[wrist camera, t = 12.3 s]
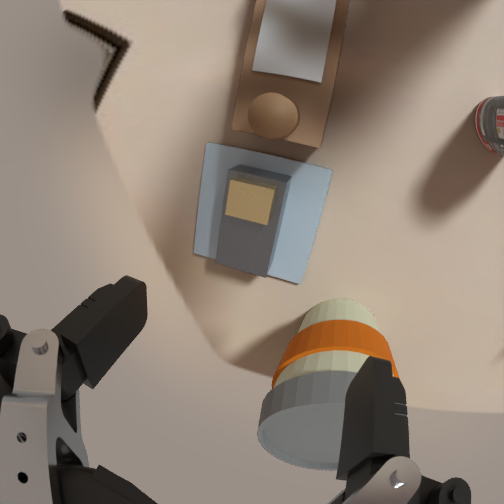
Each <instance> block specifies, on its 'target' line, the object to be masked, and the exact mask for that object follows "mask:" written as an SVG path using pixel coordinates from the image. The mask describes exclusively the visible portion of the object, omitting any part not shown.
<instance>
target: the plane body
mask: <svg viewBox="0 0 504 504" xmlns="http://www.w3.org/2000/svg"><path fill="white" fill-rule="evenodd" d="M348 7H349V0H256V4H255V8H254V13H253V17H252V22H251V26H250V31H249V36H248V41H247V46H246V51H245V55H244V61H243V66H242V71H241V76H240V81H239V87H238V92H237V97H236V103H235V109H234V114H233V120H232V126H231V130H237V131H242V132H248V133H253V134H258V135H260V136H262V137H264V138H269V139H275V138H278V139H282V140H287V141H291V142H296V143H300V144H304V145H308V146H312V147H316V148H320V147H321V145H322V140H323V136H324V131H325V127H326V122H327V118H328V113H329V108H330V104H331V99H332V94H333V89H334V84H335V79H336V74H337V69H338V64H339V58H340V53H341V48H342V42H343V37H344V31H345V25H346V19H347V13H348Z"/></svg>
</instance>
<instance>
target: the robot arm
mask: <svg viewBox="0 0 504 504" xmlns="http://www.w3.org/2000/svg"><path fill="white" fill-rule="evenodd" d="M146 295H147V293H146V284H145V283H144V282H142V281H140V280H137V279H135V278H132V277H130V276H124V277H122V278H121V279H120V280H119V281H118V282H117V283H115V284H114V285H113V284H108V285H106V286H104V287H101V288H99V289H97V290H96V291H95V292H94V293H92V294H91V295H90V296H89V297H88V299H85V300H84V301H83V302H82V303H81V305H79V306H77V308H75V309H74V310H73V311H72V312H71V313H70V314H69V315H67V316H66V317H65V318H64V319H63V320H62V321H61V322H60V323H59V324H57V325H56V326H55V327H54V328H53V329H52V330H48V329H36V330H33V331H31V332H30V333H28V334H26V333H23V332H20V331H17V330H13V329H11V327H10V325H9V322H8V320H7V318H6V317H5V316H3V315H0V504H157V503H156V502H155V501H153V500H152V499H151V498H149V497H148V496H147V495H146V494H144V493H143V492H142V491H141V490H139V489H138V488H137V487H136V486H135V485H133V484H132V483H130V482H129V481H127V480H125V479H123V478H121V477H120V476H117V475H116V474H114V473H113V472H111V471H109V470H107V469H106V468H104V467H102V466H101V465H99V466H98V467H97V469H94V468H90V467H89V463H88V456H87V452H86V449H85V446H84V443H83V440H82V435H81V421H80V398H79V387H80V386H81V385H82V384H83V383H84V384H85V385H87V386H88V387H90V388H92V389H94V387H95V386H96V385H97V384H98V382H99V381H100V380H101V378H102V377H103V376H104V375H105V374H106V373H107V371H108V370H109V369H110V368H111V366H112V365H113V364H114V363H115V362H116V360H117V359H118V358H119V357H120V355H121V354H122V353H123V352H124V351H125V349H126V348H127V347H128V346H129V345H130V343H131V342H132V341H133V340H134V339H135V337H136V336H137V335H138V334H139V333H140V332H141V330H142V329H143V327H144V325H145V323H146V320H147V296H146ZM406 404H407V403H406V393H405V389H404V387H403V385H402V383H401V381H400V379H399V378H396V377H393V374H392V364H391V361H389V360H386V359H381V358H377V357H373V356H369V357H368V358H367V359H366V360H365V362H364V363H363V365H362V367H361V368H360V370H359V371H358V372H357V374H356V375H355V377H354V378H353V380H352V381H351V383H350V385H349V387H348V390H347V393H346V397H345V408H344V420H343V430H342V439H341V447H340V455H339V463H338V470H337V476H336V479H339V480H346V481H347V483H346V488H345V489H344V490H343V491H341V492H340V493H339V494H338V495H337V496H336V497H335V498H334V499H332V501H330V502H329V503H328V504H471V491H470V487H469V486H468V484H467V482H466V481H464V480H463V479H461V478H451V479H449V480H448V481H446V482H444V483H440V482H438V481H435V480H432V479H429V478H427V477H424V476H422V475H421V472H420V469H419V467H418V466H417V464H416V463H415V462H414V461H413V460H411V459H410V454H409V430H408V417H407V406H406Z"/></svg>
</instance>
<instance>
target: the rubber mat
mask: <svg viewBox="0 0 504 504" xmlns="http://www.w3.org/2000/svg"><path fill="white" fill-rule="evenodd" d="M239 164H241V165H246V166H250V167H255V168H260V169H264V170H269V171H273V172H277V173H281V174H286V175H290V176H292V179H291V183H290V188H289V192H288V197H287V202H286V206H285V211H284V215H283V219H282V224H281V228H280V233H279V237H278V241H277V246H276V250H275V254H274V259H273V263H272V265H271V267H270V269H269V272H268V274H267V275H270V276H273V277H277V278H280V279H284V280H287V281H291V282H294V283H298V284H301V282H302V279H303V275H304V272H305V269H306V266H307V262H308V259H309V256H310V252H311V249H312V245H313V242H314V239H315V235H316V232H317V228H318V224H319V221H320V217H321V214H322V210H323V206H324V203H325V199H326V195H327V191H328V187H329V184H330V180H331V176H332V172H333V170H331V169H327V168H324V167H320V166H316V165H312V164H309V163H305V162H301V161H297V160H292V159H288V158H284V157H280V156H275V155H271V154H266V153H262V152H257V151H252V150H247V149H242V148H237V147H232V146H227V145H221V144H215V143H210V142H208V143H206V149H205V156H204V164H203V171H202V179H201V187H200V195H199V204H198V213H197V222H196V232H195V242H194V253H195V254H199V255H202V256H205V257H209V258H212V259H216V252H217V244H218V236H219V229H220V221H221V214H222V207H223V200H224V193H225V186H226V179H227V173H228V169H230V168H232V167H234V166H237V165H239Z"/></svg>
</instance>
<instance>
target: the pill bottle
mask: <svg viewBox="0 0 504 504" xmlns="http://www.w3.org/2000/svg"><path fill="white" fill-rule="evenodd" d="M475 124H476V129H477V133H478V136H479V138H480V140H481V141H482V143H483V144H484V146H485V147H486V148H487V149H489V150H490V151H491V152H493V153H495V154H498V155H501V156H504V96H497V97H489V98H486V99H484V100H483V101H482V102H481V103H480V104H479V106H478V108H477V111H476V116H475Z"/></svg>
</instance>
